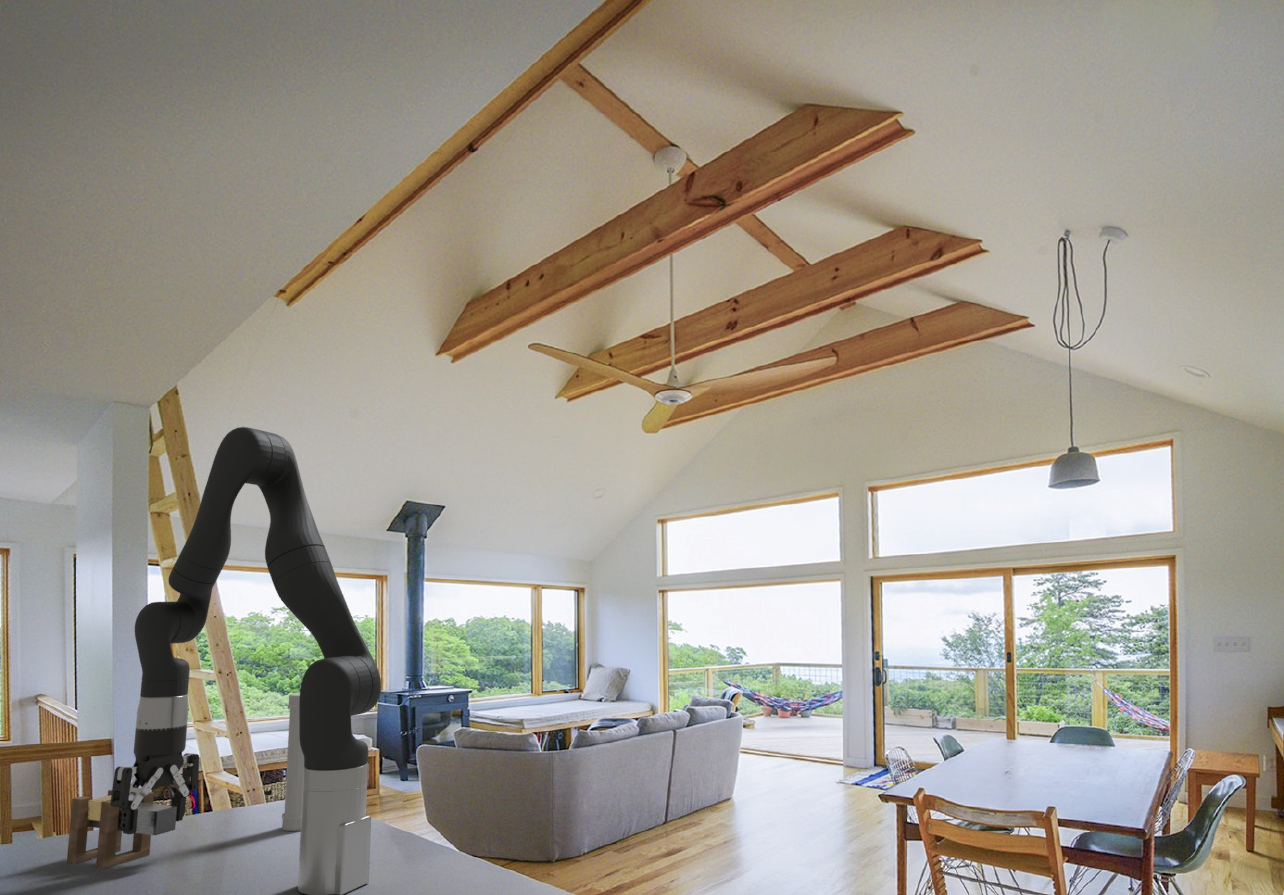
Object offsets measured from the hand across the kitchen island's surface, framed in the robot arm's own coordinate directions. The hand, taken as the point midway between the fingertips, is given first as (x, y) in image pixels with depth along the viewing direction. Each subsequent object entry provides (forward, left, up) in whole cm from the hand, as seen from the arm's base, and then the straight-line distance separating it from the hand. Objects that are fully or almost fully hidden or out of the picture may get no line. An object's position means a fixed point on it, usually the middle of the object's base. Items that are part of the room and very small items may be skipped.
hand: (153, 826), depth 142 cm
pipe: (-5, -26, -6) cm, 27 cm away
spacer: (+10, 0, +1) cm, 10 cm away
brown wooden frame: (+10, 0, -6) cm, 11 cm away
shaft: (+6, 0, -1) cm, 6 cm away
